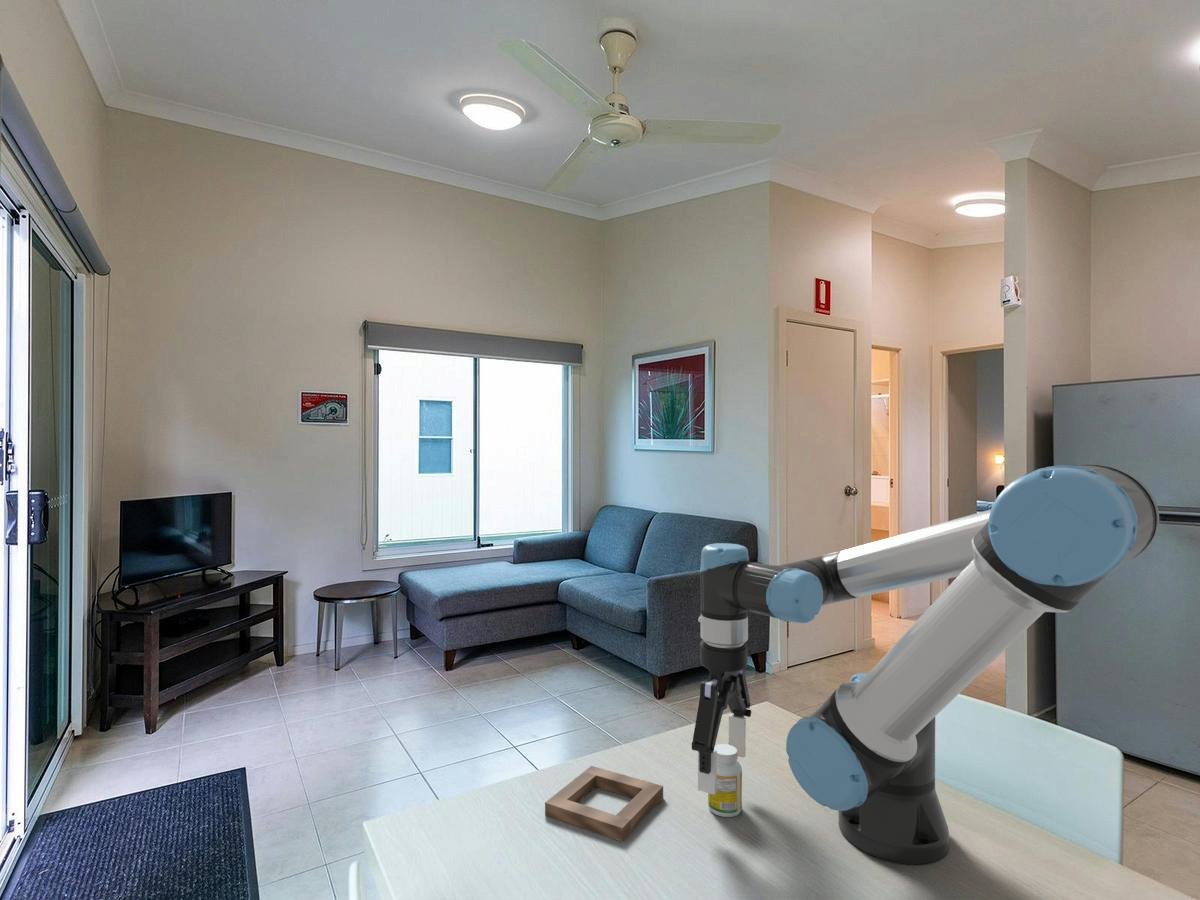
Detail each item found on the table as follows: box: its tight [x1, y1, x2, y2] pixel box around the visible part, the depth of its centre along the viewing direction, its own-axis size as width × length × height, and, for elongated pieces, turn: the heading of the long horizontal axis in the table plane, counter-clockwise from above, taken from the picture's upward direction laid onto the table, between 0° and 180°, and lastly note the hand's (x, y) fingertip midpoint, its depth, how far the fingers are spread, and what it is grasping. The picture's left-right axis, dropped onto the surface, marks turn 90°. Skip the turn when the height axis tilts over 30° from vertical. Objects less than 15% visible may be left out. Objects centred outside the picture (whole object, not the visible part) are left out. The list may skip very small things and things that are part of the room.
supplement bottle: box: [707, 743, 743, 818], centre depth 106 cm, size 5×5×10 cm
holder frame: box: [544, 765, 664, 842], centre depth 107 cm, size 14×14×2 cm
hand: (722, 772), depth 106 cm, fingers open, 13 cm apart
